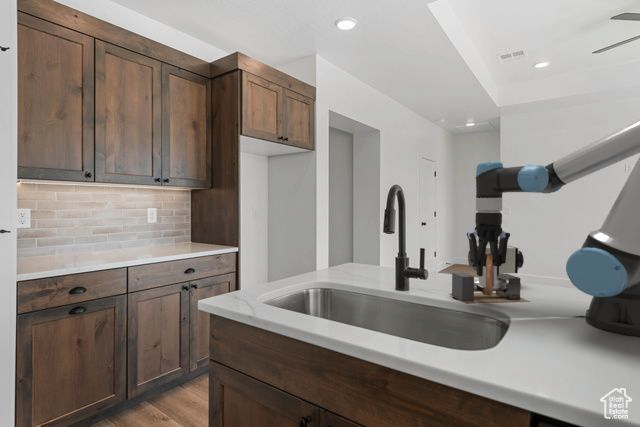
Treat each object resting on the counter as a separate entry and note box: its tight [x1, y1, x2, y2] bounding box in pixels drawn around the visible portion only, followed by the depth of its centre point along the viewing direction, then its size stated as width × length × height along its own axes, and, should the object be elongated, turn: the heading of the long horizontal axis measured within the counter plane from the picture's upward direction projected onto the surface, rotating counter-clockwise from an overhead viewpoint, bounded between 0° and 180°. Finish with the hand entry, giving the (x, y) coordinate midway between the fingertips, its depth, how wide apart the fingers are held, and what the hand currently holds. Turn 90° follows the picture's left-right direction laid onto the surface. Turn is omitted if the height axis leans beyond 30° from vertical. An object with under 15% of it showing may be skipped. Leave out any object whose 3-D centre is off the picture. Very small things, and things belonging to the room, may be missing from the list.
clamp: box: [495, 273, 521, 300], centre depth 117 cm, size 7×4×7 cm, turn 5°
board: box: [449, 292, 531, 305], centre depth 117 cm, size 12×22×1 cm, turn 95°
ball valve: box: [467, 244, 525, 274], centre depth 134 cm, size 18×8×18 cm, turn 84°
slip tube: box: [474, 253, 522, 296], centre depth 113 cm, size 20×10×14 cm, turn 95°
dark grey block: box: [451, 271, 475, 302], centre depth 116 cm, size 7×4×8 cm, turn 5°
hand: (487, 285), depth 109 cm, fingers closed on slip tube, 3 cm apart
